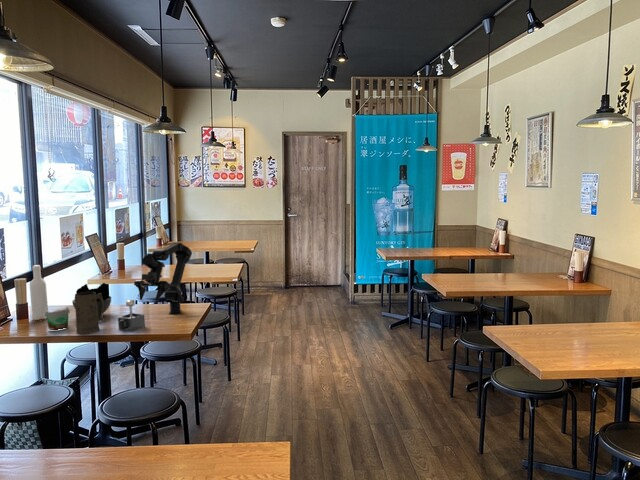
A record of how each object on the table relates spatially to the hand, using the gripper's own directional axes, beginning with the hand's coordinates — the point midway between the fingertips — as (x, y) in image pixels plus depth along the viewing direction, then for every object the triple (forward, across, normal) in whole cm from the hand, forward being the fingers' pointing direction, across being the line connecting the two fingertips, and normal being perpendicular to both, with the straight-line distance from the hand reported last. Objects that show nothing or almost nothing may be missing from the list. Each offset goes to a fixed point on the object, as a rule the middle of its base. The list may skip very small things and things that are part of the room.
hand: (148, 300), depth 270 cm
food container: (+20, -42, -7) cm, 46 cm away
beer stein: (+19, -25, -5) cm, 31 cm away
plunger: (+11, -6, -1) cm, 13 cm away
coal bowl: (+7, -42, +15) cm, 45 cm away
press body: (+16, -6, 0) cm, 17 cm away
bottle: (+12, -68, +6) cm, 70 cm away
